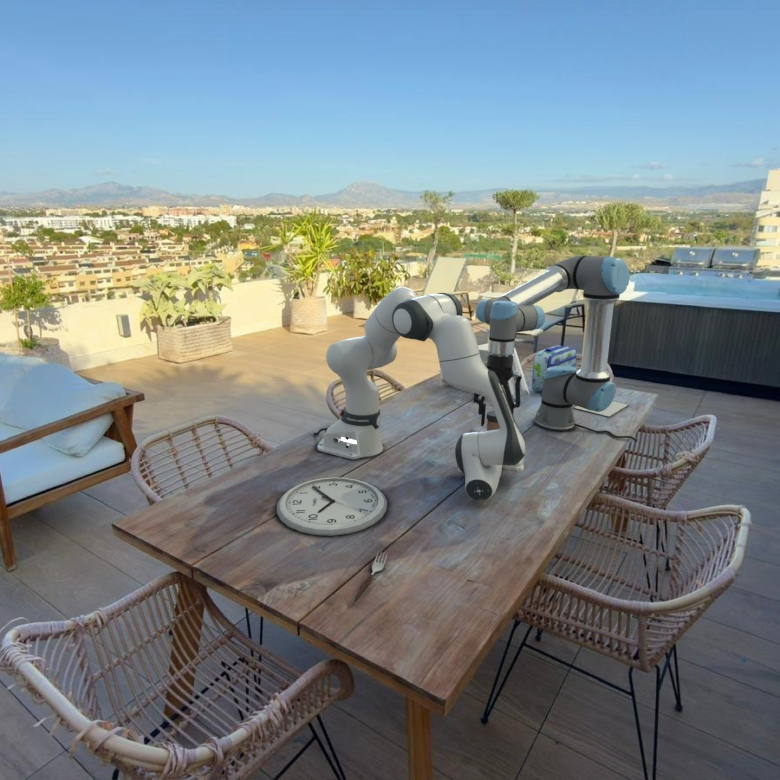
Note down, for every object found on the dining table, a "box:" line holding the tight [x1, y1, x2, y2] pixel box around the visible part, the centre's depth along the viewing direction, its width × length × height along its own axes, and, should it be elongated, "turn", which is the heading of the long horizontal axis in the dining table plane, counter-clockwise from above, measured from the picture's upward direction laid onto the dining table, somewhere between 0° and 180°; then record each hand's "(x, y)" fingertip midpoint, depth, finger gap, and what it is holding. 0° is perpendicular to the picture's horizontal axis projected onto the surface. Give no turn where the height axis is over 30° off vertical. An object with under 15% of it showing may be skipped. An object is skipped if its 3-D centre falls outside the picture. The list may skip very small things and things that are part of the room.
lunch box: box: [531, 345, 577, 393], centre depth 245 cm, size 26×11×21 cm, turn 134°
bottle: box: [486, 419, 500, 431], centre depth 164 cm, size 5×5×18 cm
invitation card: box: [573, 400, 629, 418], centre depth 226 cm, size 21×1×15 cm
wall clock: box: [276, 476, 388, 537], centre depth 142 cm, size 30×2×30 cm
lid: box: [486, 410, 498, 422], centre depth 161 cm, size 5×5×2 cm
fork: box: [354, 550, 388, 603], centre depth 112 cm, size 3×16×2 cm, turn 160°
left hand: (493, 448), depth 165 cm, fingers closed on bottle, 4 cm apart
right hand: (494, 425), depth 162 cm, fingers open, 7 cm apart
